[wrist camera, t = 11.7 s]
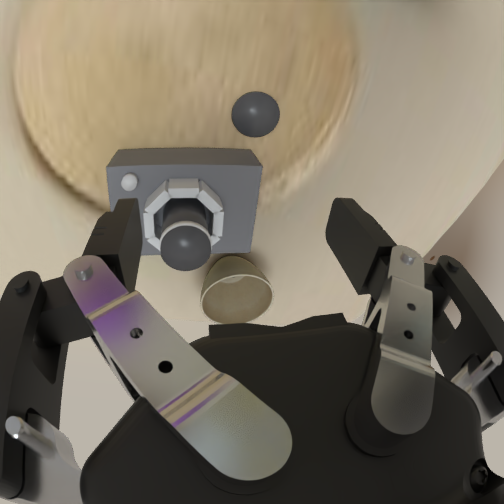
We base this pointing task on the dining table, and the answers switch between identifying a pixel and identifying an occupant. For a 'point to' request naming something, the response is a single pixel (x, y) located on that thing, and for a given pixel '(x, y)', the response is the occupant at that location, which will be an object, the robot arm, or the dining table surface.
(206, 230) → the lens
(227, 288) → the flower pot
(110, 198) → the camera body
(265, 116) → the grey dome
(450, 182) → the dining table surface
